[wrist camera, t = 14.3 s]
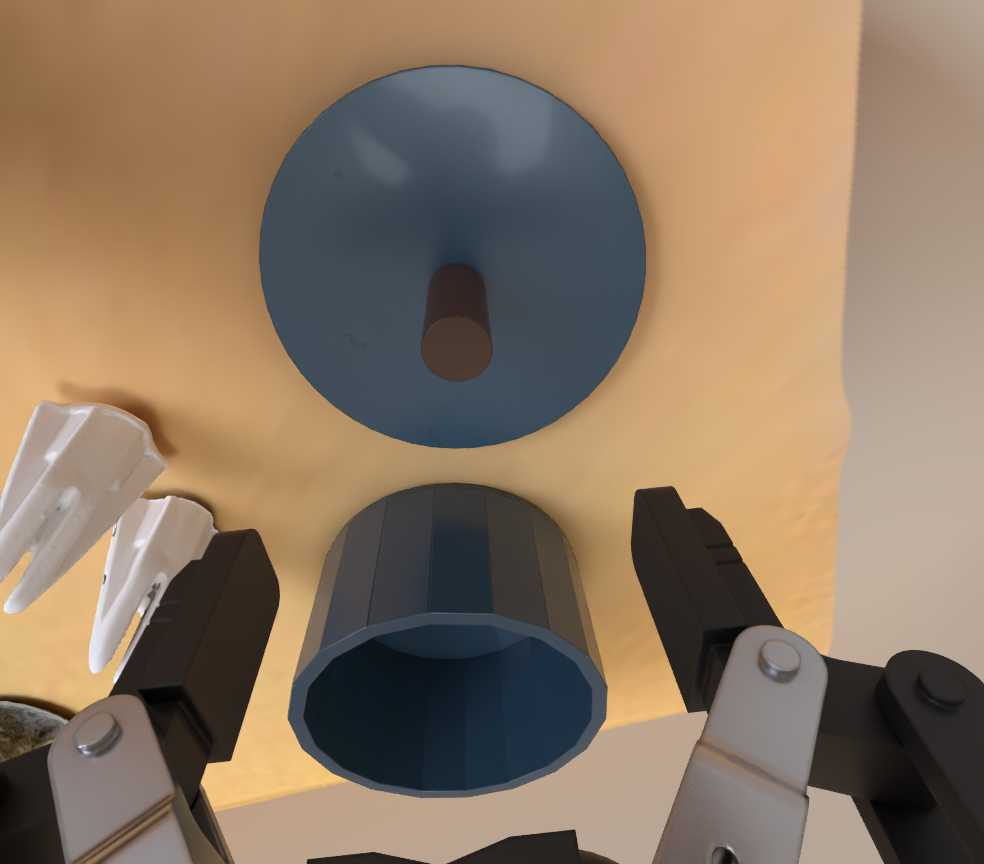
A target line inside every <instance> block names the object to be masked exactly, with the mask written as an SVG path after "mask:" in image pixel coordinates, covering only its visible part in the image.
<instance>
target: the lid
mask: <svg viewBox="0 0 984 864" xmlns="http://www.w3.org/2000/svg"><path fill="white" fill-rule="evenodd" d="M259 262H260V272H261V282H262V288H263V292H264V296H265V300H266V305H267V309H268V312H269V314H270V317H271V320H272V322H273V325H274V328H275V330H276V333H277V335H278V336H279V338H280V340H281V342H282V344H283V346H284V348H285V350H286V352H287V354H288V355H289V356H290V358H291V359H292V361H293V362H294V364H295V365H296V366H297V368H298V369H299V371H300V372H301V374H302V375H303V376H304V377H305V378H306V379H307V380H308V381H309V383H310V384H311V385H312V386H313V387H314V388H315V389H316V390H317V391H318V392H319V393H320V394H321V395H322V396H323V397H324V398H326V399H327V400H328V401H329V402H330V403H331V404H332V405H333V406H335V407H336V408H338V409H339V410H340V411H342V412H343V413H345V414H346V415H348V416H349V417H350V418H352V419H354V420H355V421H357V422H359V423H361V424H363V425H365V426H366V427H368V428H370V429H372V430H375V431H377V432H379V433H382V434H384V435H387V436H389V437H392V438H395V439H398V440H402V441H405V442H409V443H412V444H418V445H424V446H429V447H439V448H476V447H482V446H489V445H496V444H499V443H503V442H507V441H511V440H514V439H518V438H520V437H523V436H525V435H528V434H530V433H533V432H536V431H538V430H540V429H541V428H543V427H545V426H547V425H549V424H551V423H553V422H555V421H556V420H558V419H559V418H561V417H562V416H564V415H565V414H567V413H568V412H570V411H571V410H573V409H574V408H575V407H576V406H577V405H578V404H580V403H581V402H582V401H583V400H584V399H585V398H587V397H588V396H589V395H590V394H591V393H592V392H593V390H594V389H595V388H596V387H597V386H598V385H599V384H600V383H601V382H602V381H603V380H604V378H605V377H606V376H607V374H608V373H609V371H610V370H611V369H612V367H613V366H614V365H615V363H616V362H617V360H618V358H619V357H620V355H621V353H622V351H623V349H624V348H625V346H626V344H627V342H628V340H629V337H630V335H631V332H632V330H633V327H634V325H635V322H636V320H637V316H638V313H639V309H640V305H641V301H642V297H643V291H644V283H645V275H646V245H645V238H644V230H643V222H642V219H641V215H640V211H639V208H638V204H637V201H636V197H635V195H634V192H633V190H632V188H631V185H630V183H629V181H628V178H627V176H626V174H625V172H624V170H623V168H622V167H621V165H620V163H619V162H618V160H617V158H616V157H615V155H614V153H613V152H612V150H611V148H610V147H609V146H608V145H607V144H606V142H605V141H604V140H603V139H602V137H601V136H600V135H599V134H598V133H597V131H596V130H595V129H594V128H593V127H592V126H591V125H590V124H589V123H588V122H587V121H586V120H585V119H584V118H583V117H581V116H580V115H579V114H578V113H577V112H576V111H575V110H574V109H573V108H572V107H570V106H569V105H567V104H566V103H564V102H563V101H561V100H560V99H558V98H557V97H555V96H554V95H552V94H551V93H549V92H548V91H546V90H544V89H542V88H540V87H538V86H536V85H534V84H532V83H529V82H527V81H525V80H523V79H521V78H518V77H515V76H512V75H508V74H505V73H502V72H498V71H495V70H492V69H485V68H478V67H471V66H464V65H439V66H426V67H420V68H414V69H409V70H403V71H399V72H396V73H393V74H390V75H387V76H384V77H381V78H378V79H376V80H373V81H371V82H369V83H367V84H365V85H363V86H361V87H359V88H357V89H356V90H354V91H352V92H350V93H348V94H346V95H345V96H343V97H342V98H341V99H339V100H338V101H337V102H335V103H334V104H333V105H331V106H330V107H329V108H327V109H326V110H325V111H323V112H322V113H321V114H320V115H319V116H318V117H317V118H316V119H315V120H314V121H313V122H312V124H311V125H310V126H309V127H308V128H307V129H306V130H305V131H304V132H303V133H302V134H301V136H300V137H299V138H298V140H297V141H296V143H295V144H294V145H293V147H292V148H291V150H290V151H289V152H288V154H287V155H286V157H285V159H284V161H283V163H282V165H281V167H280V169H279V171H278V173H277V175H276V177H275V179H274V181H273V184H272V187H271V190H270V193H269V196H268V199H267V202H266V205H265V209H264V214H263V220H262V225H261V231H260V251H259Z"/></svg>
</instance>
